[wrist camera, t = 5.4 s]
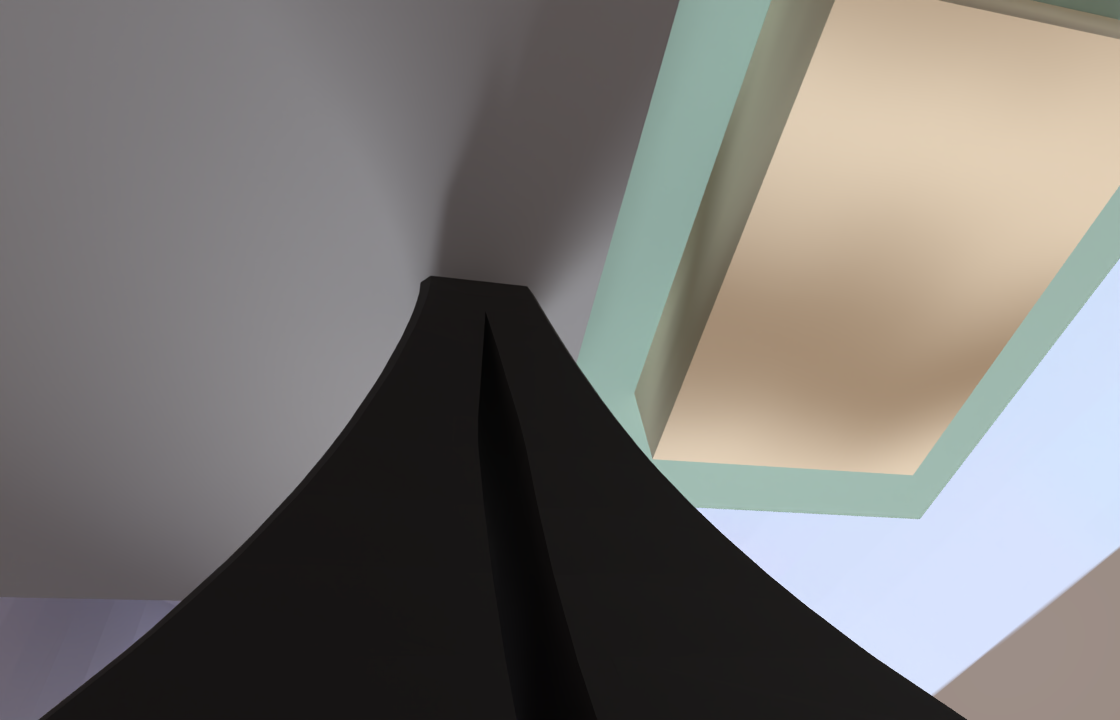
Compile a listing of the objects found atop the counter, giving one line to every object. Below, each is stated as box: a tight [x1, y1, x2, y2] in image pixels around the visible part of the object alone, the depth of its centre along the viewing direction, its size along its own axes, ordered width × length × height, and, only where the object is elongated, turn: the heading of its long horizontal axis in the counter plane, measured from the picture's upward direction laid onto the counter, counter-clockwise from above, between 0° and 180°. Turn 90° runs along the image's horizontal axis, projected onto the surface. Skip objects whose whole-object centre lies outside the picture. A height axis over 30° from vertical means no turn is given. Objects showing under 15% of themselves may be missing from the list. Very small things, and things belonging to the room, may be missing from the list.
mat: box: [577, 0, 1120, 519], centre depth 15 cm, size 16×12×1 cm
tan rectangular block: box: [634, 0, 1120, 475], centre depth 14 cm, size 9×6×2 cm, turn 168°
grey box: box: [0, 0, 680, 601], centre depth 11 cm, size 14×12×4 cm
